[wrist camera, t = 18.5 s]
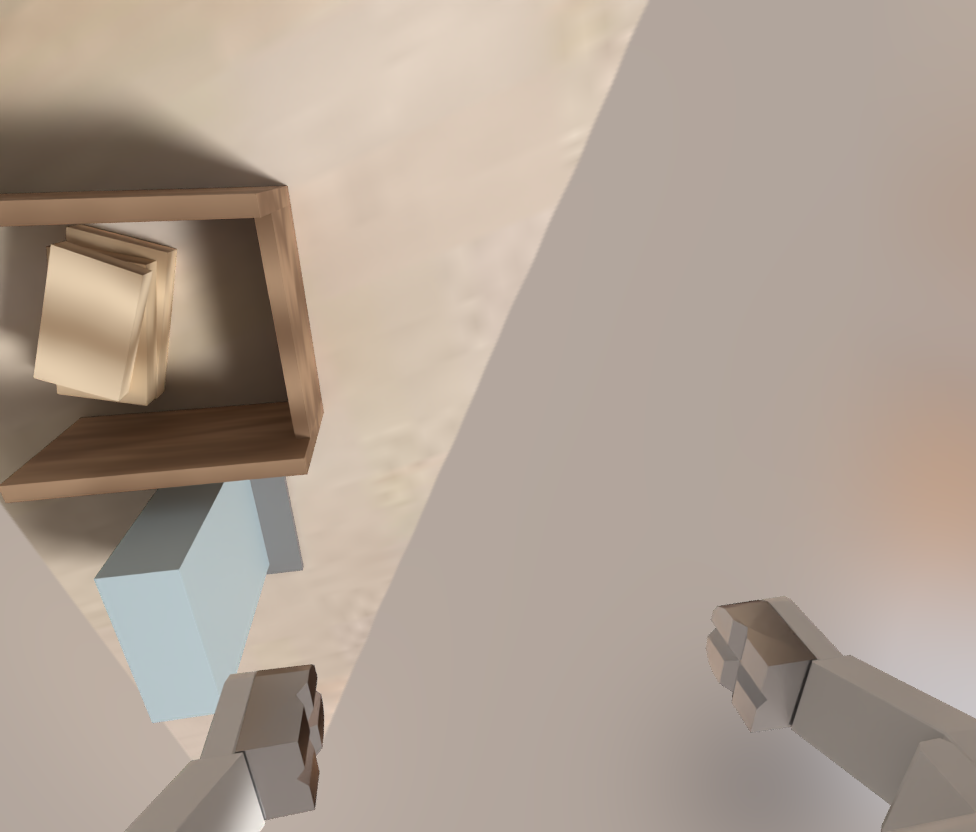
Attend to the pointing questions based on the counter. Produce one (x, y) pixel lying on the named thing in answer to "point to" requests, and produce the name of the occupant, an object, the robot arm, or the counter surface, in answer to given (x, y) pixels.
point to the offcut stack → (106, 316)
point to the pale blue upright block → (186, 594)
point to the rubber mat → (277, 524)
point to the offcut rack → (192, 432)
